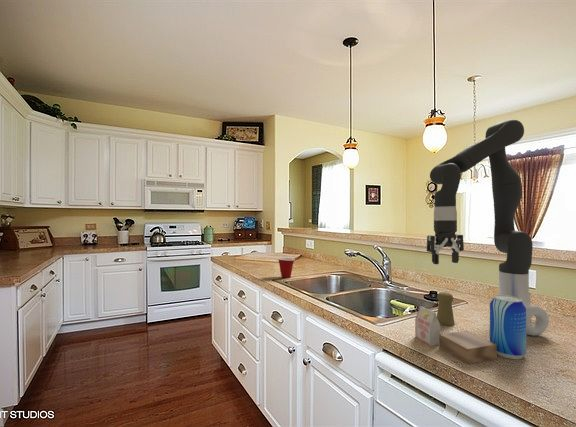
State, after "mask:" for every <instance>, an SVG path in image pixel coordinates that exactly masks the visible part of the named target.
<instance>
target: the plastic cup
mask: <svg viewBox="0 0 576 427" xmlns="http://www.w3.org/2000/svg"><path fill="white" fill-rule="evenodd" d="M277 260H278V264H279V271H280V276H281V278H282V277H284V278H283V279H291V277H292V273H293V272H292V271H293V266H294V262H295V261H296V259H295V258H292V257H278V258H277Z"/></svg>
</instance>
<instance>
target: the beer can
mask: <svg viewBox="0 0 576 427" xmlns="http://www.w3.org/2000/svg"><path fill="white" fill-rule="evenodd" d="M489 341H490V342H492V343H494V344H497V355H498V356H500V357H502V358H506V359H510V360H521V359H523V358H524V357H525V356H526V355H527V334H526V307H525V306H524V304H523V303H522V299H520V298H518V297H514V296H509V295H499V294H495V295H493V298H492V299H491V301H490V302H489Z"/></svg>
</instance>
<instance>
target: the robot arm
mask: <svg viewBox="0 0 576 427" xmlns="http://www.w3.org/2000/svg"><path fill="white" fill-rule="evenodd" d="M524 134H525V127H524V125H523V123H522V122H521V121H520V120H518V119H515V118H514V119H513V118H512V119H506V120H505V121H500V122H498V123H496V124H495V123H494V124H493V125H491V126H489V127H488V128H487V129H486V131H485V138H484V139H482V140H479V141H478V142H475V143H474V144H472V145H470V146H467V147H466V148H464V149H463V150H461V151H459V153H457V154H456V155H454V156H453V157H451V158H449V159H447V160H444V161H442V162H440V163H439V164H436V165H435V166H434V167H433V168H432V169H431V170H430V172H429V178H430V181H431V182H432V183H434V184H435V185H441V186H440V187H441V188H440V189H439V190H437V191H435V192H434V198H433V199H434V201H433V202H434V203H433V204H434V208H433V231H434V235H430V234H429V235H427V236H426V252H428V253H431V263H432V264H433V265H439V264H440V260H439V259H440V254H439V252H440V251H441V250H443V248H448V249H450V250H451V262H452V263H454V264H458V263H459V260H460V258H459V257H460V254H459V253H460V252H463V251H464V250H465V247H464V246H465V245H464V235H463V234H458V233H457V231H458V212H457V193H458V190H459V186H460V183H461V177H462V174H463V173H465V172H468V171H469V170H470V169H472V168H474V167H475V166H476V165H477V164H479V163H481V162H482V161H484V160H485V159H487V158H488V159H489V166H490V175H491V189H492V190H491V191H492V198H493V199H492V200H493V211H494V213H493V214H494V226H493V232H494V233H493V242H494V243H493V244H494V246H495V247H496V250H497V251H499V252H501V253H503V254H506V260H505V261H504V262H500V263H499V264H498V295H509V296H514V297H518V298H520V299H522V303H523V304H524V306H525V307H526V306H529V305H531V292H530V281H529V280H530V277H529V276H530V275H529V274H530V268H531V266H532V262H533V260H532V259H533V240H532V238H531V236H530V235H529V233H527V232H525V231H521V230H516V229H515V215H516V211H517V210H518V207H519V206H520V203H521V201H522V197H523V189H522V187H523V186H522V180H521V177H520V175H519V173H518V172H517V170H516V169H515V168H514V167H513V165H511V163H510V161H509V159H508V158H507V152H506V148H507V147H509V146H511V145H513V144H516V143H517V142H519V141H520V140H522V138H523V137H524Z"/></svg>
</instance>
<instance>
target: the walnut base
mask: <svg viewBox="0 0 576 427" xmlns="http://www.w3.org/2000/svg"><path fill="white" fill-rule="evenodd" d="M438 347H439V349H441V350H442V351H444V352H446V353H448V354H449V355H452V356H453V357H455V358H456V359H459V360H460V361H462V363H465V364H467V365H470V364H475V363H476V364H477V363H481V362H486V361H492V360H493V361H494V360H497V359H498V358H497V344H494V343H492V342H490V340H488V339H486V338H483V337H481V336H479V335H476V334H474V333H472V332H470V331H468V330H462V331H460V330H459V331H453V332H447V333H440V334H439V345H438Z"/></svg>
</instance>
